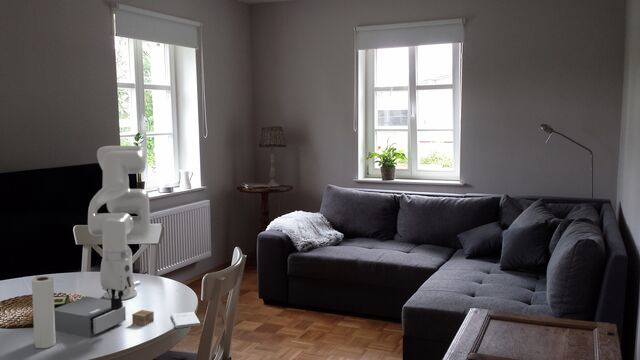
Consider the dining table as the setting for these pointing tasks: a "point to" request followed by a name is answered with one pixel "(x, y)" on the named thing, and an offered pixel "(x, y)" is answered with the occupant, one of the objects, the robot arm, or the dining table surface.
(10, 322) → the dining table surface
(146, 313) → the pedestal
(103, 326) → the tray
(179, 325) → the external hard drive
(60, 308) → the grey drawer box
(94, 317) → the disc
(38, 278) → the paper towel roll
